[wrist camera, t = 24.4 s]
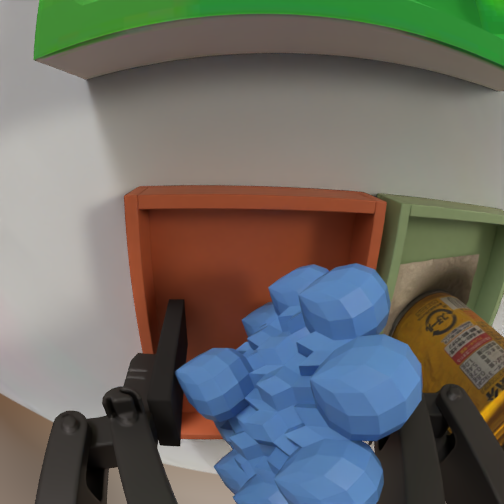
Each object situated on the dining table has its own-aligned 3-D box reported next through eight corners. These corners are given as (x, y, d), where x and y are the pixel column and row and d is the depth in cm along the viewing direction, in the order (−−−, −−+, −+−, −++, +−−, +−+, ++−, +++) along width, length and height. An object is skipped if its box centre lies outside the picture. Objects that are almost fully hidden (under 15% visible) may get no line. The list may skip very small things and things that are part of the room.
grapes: (228, 185, 14) (242, 359, 3) (354, 234, 15) (533, 391, 4) (164, 373, 17) (135, 561, 6) (267, 397, 18) (299, 570, 7)
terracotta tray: (363, 191, 15) (387, 201, 13) (321, 404, 20) (331, 429, 18) (138, 186, 14) (123, 195, 11) (166, 411, 19) (163, 438, 17)
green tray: (499, 208, 16) (523, 218, 14) (444, 378, 22) (458, 395, 19) (376, 193, 15) (401, 203, 13) (331, 403, 20) (342, 427, 18)
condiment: (372, 375, 19) (450, 513, 8) (392, 264, 16) (546, 407, 5) (449, 352, 20) (534, 453, 9) (476, 252, 17) (606, 342, 6)
